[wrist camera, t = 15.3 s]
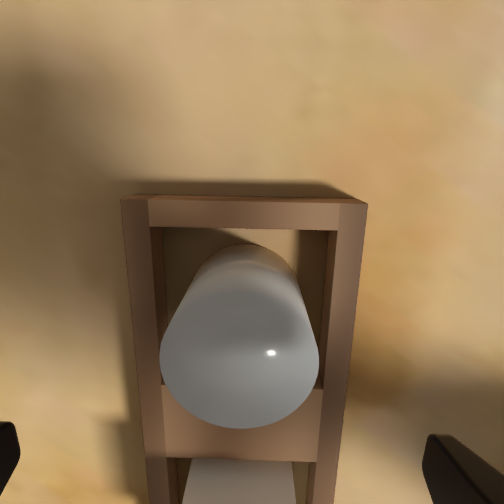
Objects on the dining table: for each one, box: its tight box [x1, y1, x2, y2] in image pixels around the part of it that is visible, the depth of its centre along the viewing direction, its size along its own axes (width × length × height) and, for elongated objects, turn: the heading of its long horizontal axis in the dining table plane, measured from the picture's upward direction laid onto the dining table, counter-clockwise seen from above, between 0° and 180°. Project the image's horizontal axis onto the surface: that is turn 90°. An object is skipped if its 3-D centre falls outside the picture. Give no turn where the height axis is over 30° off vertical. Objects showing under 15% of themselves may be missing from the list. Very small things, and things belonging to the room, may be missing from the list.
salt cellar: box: [159, 244, 319, 429], centre depth 12 cm, size 5×5×5 cm
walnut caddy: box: [120, 194, 368, 504], centre depth 15 cm, size 9×20×2 cm, turn 179°
